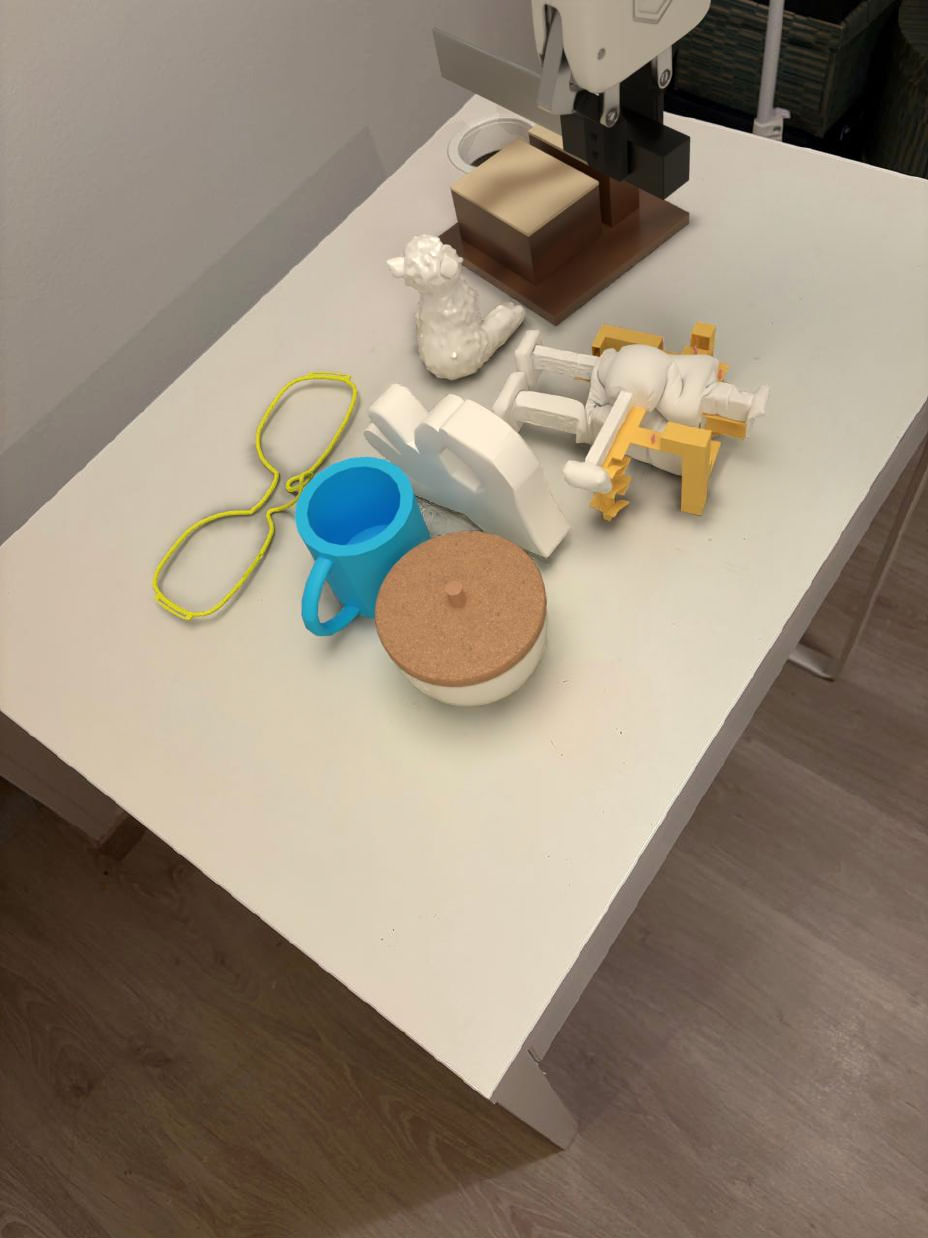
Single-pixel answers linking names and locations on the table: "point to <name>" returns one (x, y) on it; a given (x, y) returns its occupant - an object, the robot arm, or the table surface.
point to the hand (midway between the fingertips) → (624, 156)
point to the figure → (635, 409)
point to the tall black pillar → (566, 115)
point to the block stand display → (549, 230)
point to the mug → (355, 535)
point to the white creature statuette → (451, 310)
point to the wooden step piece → (613, 194)
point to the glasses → (300, 487)
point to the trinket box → (464, 617)
